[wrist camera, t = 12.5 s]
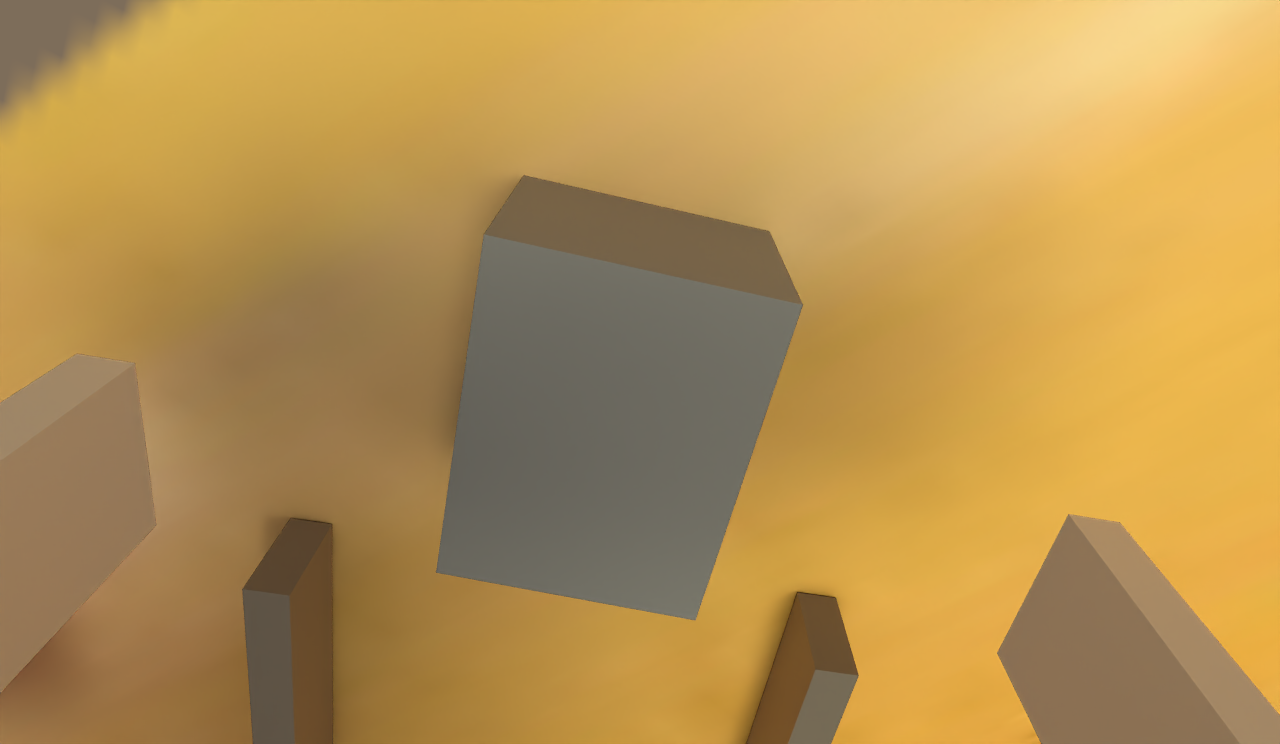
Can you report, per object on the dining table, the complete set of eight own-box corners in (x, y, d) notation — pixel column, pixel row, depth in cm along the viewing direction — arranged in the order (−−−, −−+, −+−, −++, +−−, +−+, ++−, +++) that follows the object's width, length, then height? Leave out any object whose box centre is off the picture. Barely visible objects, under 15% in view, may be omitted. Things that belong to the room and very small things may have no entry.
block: (480, 453, 22) (436, 572, 18) (524, 173, 19) (484, 234, 14) (687, 494, 23) (695, 620, 18) (768, 229, 19) (802, 304, 15)
